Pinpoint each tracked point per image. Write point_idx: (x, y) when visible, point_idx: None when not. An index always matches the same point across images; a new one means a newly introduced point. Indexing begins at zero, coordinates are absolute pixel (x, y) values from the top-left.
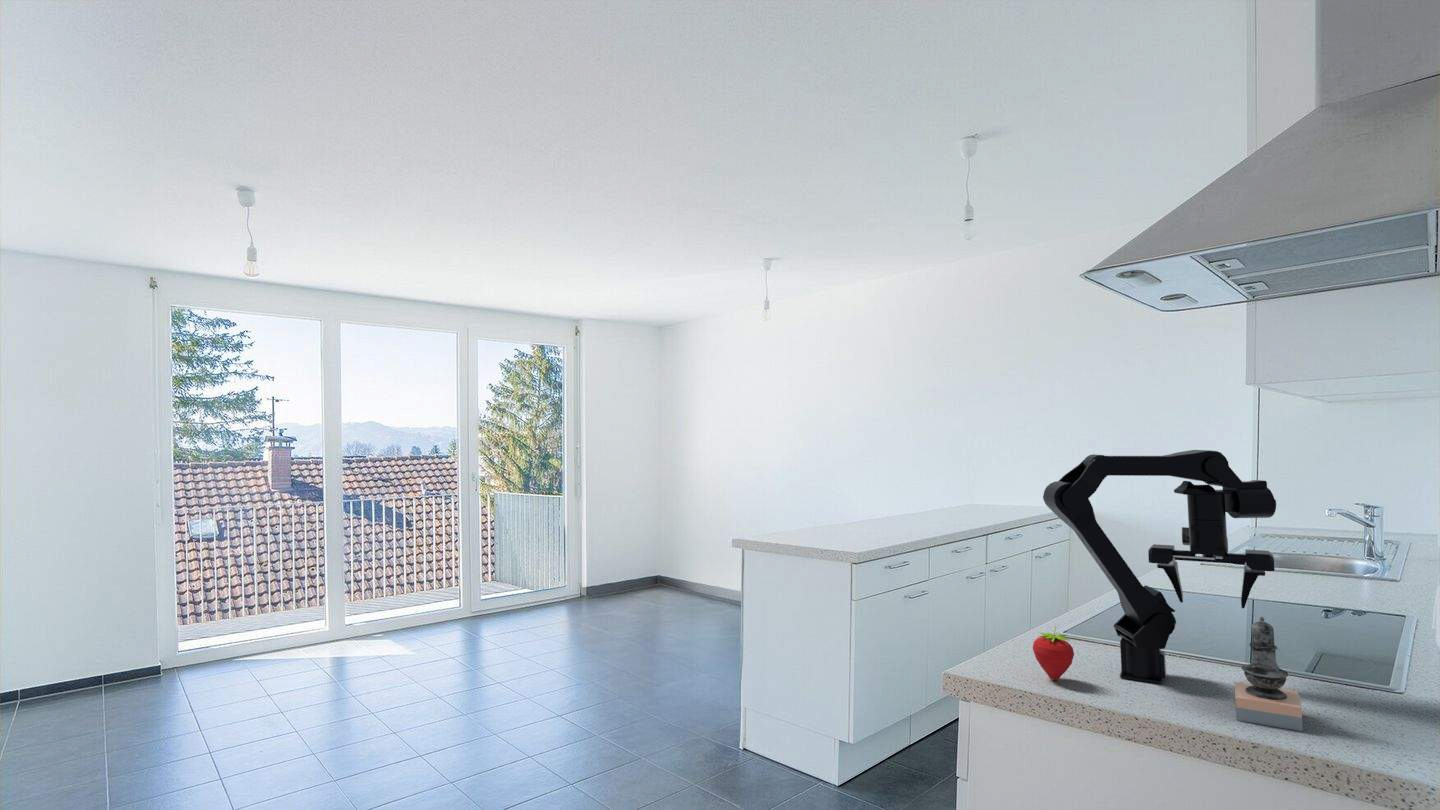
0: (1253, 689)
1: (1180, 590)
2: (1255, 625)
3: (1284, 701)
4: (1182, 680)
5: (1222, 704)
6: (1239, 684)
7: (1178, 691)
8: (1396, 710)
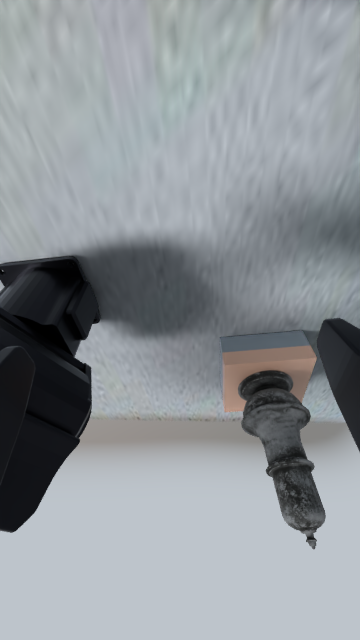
0: (249, 396)
1: (10, 454)
2: (290, 526)
3: None
4: (120, 271)
5: (201, 348)
6: (230, 371)
7: (135, 331)
8: None
